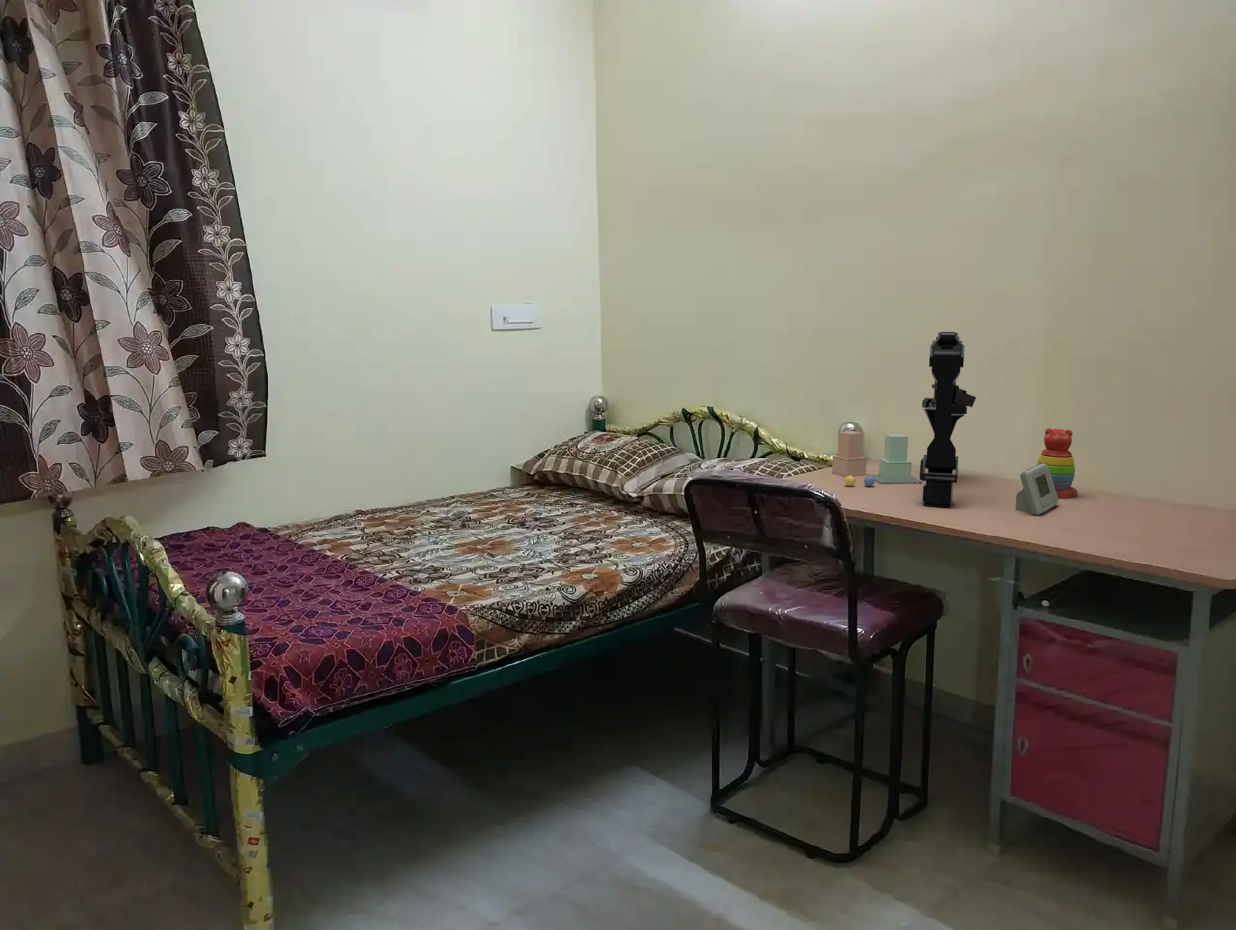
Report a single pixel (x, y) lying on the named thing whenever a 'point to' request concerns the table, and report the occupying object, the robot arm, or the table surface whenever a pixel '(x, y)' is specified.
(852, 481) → the marble amber
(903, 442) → the stepped green tower
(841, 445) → the pink stepped block
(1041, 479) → the digital clock
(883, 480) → the mat
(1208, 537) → the table surface
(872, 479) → the blue ball
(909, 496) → the table surface
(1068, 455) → the stacking bear
